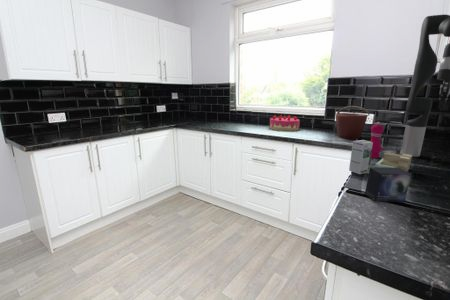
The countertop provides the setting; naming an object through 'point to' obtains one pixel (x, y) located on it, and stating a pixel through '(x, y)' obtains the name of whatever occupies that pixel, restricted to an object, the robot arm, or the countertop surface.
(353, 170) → the syrup box
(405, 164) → the tee block
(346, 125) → the bucket
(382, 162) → the pocket
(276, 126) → the cake
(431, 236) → the countertop surface
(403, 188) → the small box
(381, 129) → the pepper mill
